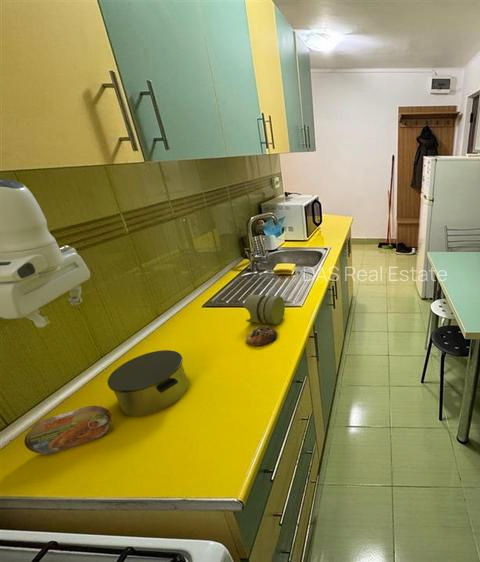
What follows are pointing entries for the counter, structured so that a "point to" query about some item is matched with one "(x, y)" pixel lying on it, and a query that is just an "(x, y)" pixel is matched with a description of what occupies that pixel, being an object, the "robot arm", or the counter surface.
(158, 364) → the stockpot
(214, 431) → the counter surface
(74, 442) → the tin
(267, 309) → the piston
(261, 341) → the bread roll
